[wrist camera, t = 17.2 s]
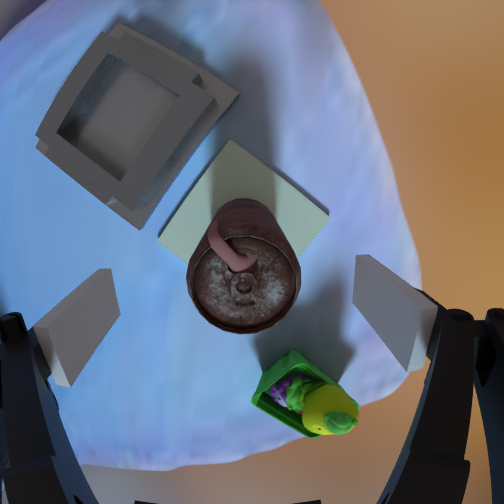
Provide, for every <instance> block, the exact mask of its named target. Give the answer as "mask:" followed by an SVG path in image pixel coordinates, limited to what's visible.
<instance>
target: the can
mask: <svg viewBox="0 0 504 504" xmlns="http://www.w3.org/2000/svg"><path fill="white" fill-rule="evenodd" d="M186 280H187V286H188V293H189V295H190V297H191V299H192V301H193V303H194V305H195V307H196V308H197V309H198V311H199V313H200V314H201V315H202V316H203V317H204V318H205V319H206V320H207V321H208V322H209V323H210V324H212V325H214V326H216V327H217V328H219V329H221V330H223V331H226V332H231V333H236V334H253V333H258V332H261V331H264V330H266V329H269V328H271V327H273V326H274V325H275V324H277V323H278V322H280V321H281V320H282V319H284V317H285V316H286V315H287V313H288V312H289V310H290V309H291V308H292V306H293V304H294V303H295V302H296V299H297V296H298V293H299V290H300V287H301V268H300V265H299V262H298V260H297V257H296V254H295V252H294V250H293V248H292V247H291V245H290V243H289V241H288V240H287V238H286V236H285V234H284V233H283V231H282V229H281V228H280V226H279V224H278V222H277V221H276V219H275V217H274V216H273V214H272V213H271V212H270V210H269V209H268V208H267V207H266V206H265V205H263V204H262V203H260V202H259V201H257V200H253V199H249V198H241V199H234V200H232V201H230V202H227V203H225V204H224V205H223V206H222V207H221V208H220V209H218V211H217V213H216V214H215V216H214V218H213V219H212V221H211V223H210V224H209V226H208V228H207V230H206V231H205V233H204V235H203V237H202V238H201V240H200V242H199V244H198V245H197V247H196V249H195V251H194V253H193V254H192V256H191V258H190V260H189V264H188V269H187V275H186Z"/></svg>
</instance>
